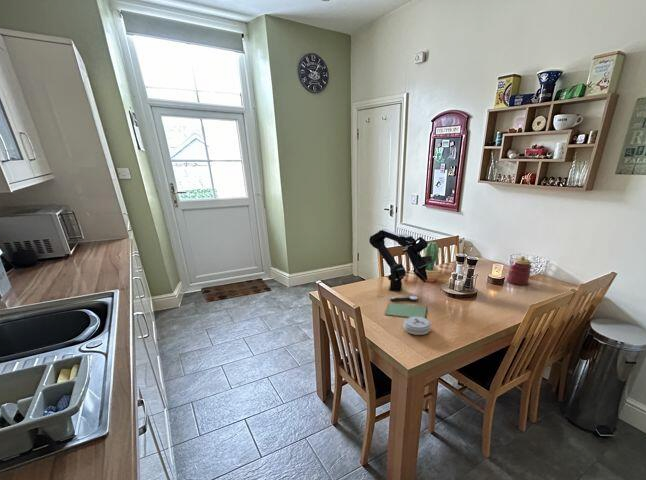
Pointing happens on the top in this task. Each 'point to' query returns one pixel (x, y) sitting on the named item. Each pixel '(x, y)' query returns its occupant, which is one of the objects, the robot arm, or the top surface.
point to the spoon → (405, 299)
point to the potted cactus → (432, 269)
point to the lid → (417, 325)
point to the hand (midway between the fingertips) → (426, 280)
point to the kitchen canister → (519, 271)
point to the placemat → (406, 310)
